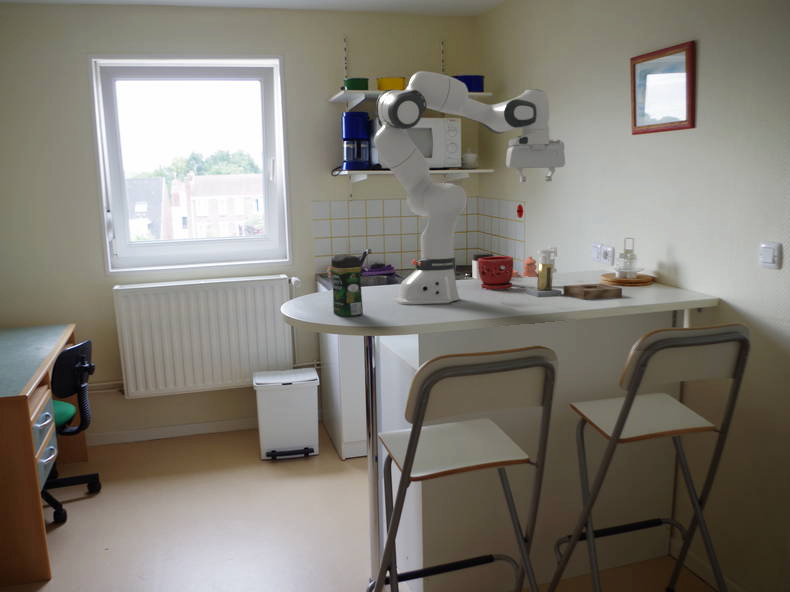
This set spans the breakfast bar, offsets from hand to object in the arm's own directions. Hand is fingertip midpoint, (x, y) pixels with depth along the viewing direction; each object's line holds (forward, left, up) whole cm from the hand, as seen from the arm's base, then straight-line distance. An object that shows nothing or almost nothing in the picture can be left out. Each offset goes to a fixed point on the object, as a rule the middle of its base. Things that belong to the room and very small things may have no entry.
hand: (535, 181), depth 228 cm
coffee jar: (-68, -13, -39) cm, 80 cm away
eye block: (+17, -8, -39) cm, 43 cm away
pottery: (+11, +42, -39) cm, 59 cm away
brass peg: (+4, +2, -37) cm, 38 cm away
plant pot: (-6, +22, -39) cm, 45 cm away
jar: (-4, +40, -39) cm, 56 cm away
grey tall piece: (+14, +20, -39) cm, 46 cm away
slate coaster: (+4, +2, -39) cm, 39 cm away
